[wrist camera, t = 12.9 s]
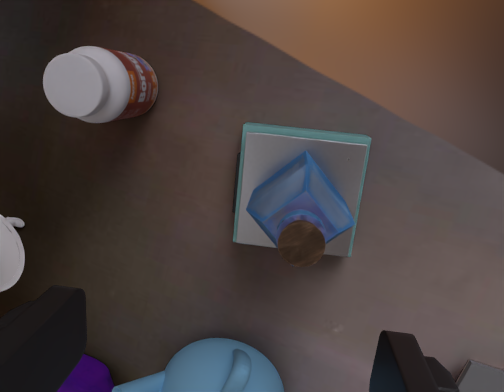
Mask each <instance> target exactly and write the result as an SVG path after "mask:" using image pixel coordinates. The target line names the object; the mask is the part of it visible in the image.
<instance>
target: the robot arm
mask: <svg viewBox="0 0 504 392" xmlns="http://www.w3.org/2000/svg"><path fill="white" fill-rule="evenodd" d="M86 342H87V326H86V297H85V292H84V290H83V289H80V288H72V287H65V286H57V285H54V286H52V287H50V288H49V289H48V290H47V291H46V292H45V293H43V294H42V295H41V296H40V297H39V298H38V299H37V300H35V301H29V302H27V303H25V304H22V305H20V306H18V307H16V308H14V309H12V310H10V311H9V312H7V313H6V314H5V315H4V316H3V317H1V318H0V392H57V391H58V389H59V388H60V387H61V385H62V384H63V383H64V381H65V380H66V379H67V377H68V376H69V375H70V373H71V372H72V371H73V369H74V368H75V367H76V365H77V364H78V363H79V361H80V360H81V358H82V356H83V353H84V350H85V347H86ZM459 391H460V390H459V389H458V387H457V385H456V383H455V381H454V379H453V377H452V375H451V373H450V372H449V371H448V370H446V369H445V368H444V367H443V366H442V365H441V364H440V363H439V362H438V361H437V360H436V359H435V358H433V357H426V356H424V355H423V353H422V351H421V349H420V347H419V345H418V343H417V340H416V338H415V336H414V335H413V334H407V333H400V332H392V331H385V330H383V331H382V332H381V334H380V336H379V341H378V345H377V350H376V355H375V359H374V364H373V369H372V373H371V378H370V387H369V392H459Z"/></svg>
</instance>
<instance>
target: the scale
mask: <svg viewBox="0 0 504 392" xmlns="http://www.w3.org/2000/svg"><path fill="white" fill-rule="evenodd" d="M247 131H249V132H258V133H267V134H277V135H286V136H295V137H304V138H313V139H322V140H331V141H340V142H350V143H359V144H366V145H367V152H366V157H365V163H364V169H363V174H362V180H361V186H360V191H359V197H358V203H357V208H356V214H355V220H354V222H355V225H354V226H353V231H352V237H351V242H350V248H349V254H348V257H351V251H352V246H353V240H354V234H355V229H356V223H357V218H358V212H359V206H360V201H361V195H362V190H363V184H364V178H365V173H366V167H367V162H368V156H369V150H370V145H371V138H370V137H369V136H367V135H362V134H352V133H343V132H334V131H324V130H315V129H306V128H297V127H287V126H278V125H269V124H260V123H250V122H246V123H245V124H244V125H243V132H242V143H241V152H239V153H238V155H237V167H236V178H235V190H234V201H233V212H235V222H234V233H233V242H236V239H237V228H238V218H239V207H240V196H241V185H242V174H243V163H244V152H245V141H246V132H247Z"/></svg>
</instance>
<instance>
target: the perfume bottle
mask: <svg viewBox="0 0 504 392" xmlns="http://www.w3.org/2000/svg"><path fill="white" fill-rule="evenodd" d="M246 211H247V212H248V213H249V214H250V215H251V217H252V218H253V219H254V220H255V222H256V223H257V224H258V225H259V226H260V228H261V229H262V230H263V231H264V232H265V234H266V235H267V236H268V237H269V239H270V240H271V241H272V242H273V243H274V245H275V246H276V247H277V248H278V251H279V253H280V255H281V257H282V258H283V259H284V260H285V261H286V262H287V263H289V264H291V265H292V266H299V267H305V266H310V265H312V264H314V263H316V262H317V261H318V260H319V259H320V258H321V257H322V255H323V254H324V252H325V246H326V244H327V243H329V242H330V241H332V240H333V239H334V238H336V237H337V236H339V235H340V234H342V233H343V232H345V231H346V230H348V229H349V228H351V227H352V226H354V225H355V222H354V220H353V217H352V215H351V213H350V210H349V208H348V206H347V203H346V202H345V200H344V199H343V198H342V196H341V195H340V194H339V192H338V191H337V190H336V189H335V187H334V186H333V185H332V183H331V182H330V181H329V179H328V178H327V177H326V176H325V174H324V173H323V172H322V170H321V169H320V168H319V167H318V165H317V164H316V163H315V161H314V160H313V159H312V157H311V156H310V155H309V154H308V152H307V151H306V150H305V151H304V152H303V153H301V154H300V155H299V156H297V157H296V158H295V159H293V160H292V161H291V162H290V163H288V164H287V165H286V166H284V167H283V168H282V169H280V170H279V171H278V172H276V173H275V174H274V175H272V176H271V177H270V178H268V179H267V180H266V181H264V182H263V183H262V184H260V185H259V186H258V187H257V188H255V189H254V190H253V192H252V194H251V197H250V200H249V202H248V205H247V208H246Z"/></svg>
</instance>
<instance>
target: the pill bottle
mask: <svg viewBox="0 0 504 392" xmlns="http://www.w3.org/2000/svg"><path fill="white" fill-rule="evenodd" d="M43 87H44V91H45V94H46V97H47V99H48V100H49V102H50V103H51V105H52V106H53V107H54V108H55V109H56V110H57V111H59V112H60V113H62V114H64V115H66V116H70V117H77V118H79V119H81V120H83V121H86V122H90V123H105V122H110V121H116V120H121V119H126V118H132V117H136V116H139V115H142V114H144V113H145V112H147V111H148V110H149V109H150V108H151V107H152V105H153V104H154V102H155V100H156V97H157V93H158V81H157V77H156V75H155V72H154V70H153V69H152V67H151V66H150V65H149V64H148V63H147V62H146V61H145V60H144V59H142V58H141V57H139V56H137V55H134V54H131V53H126V52H121V51H116V50H111V49H105V48H101V47H95V46H83V47H79V48H76V49H74V50H72V51H70V52H69V53H65V54H61V55H59V56H57V57H55V58H54V59H52V60H51V61H50V63H49V64H48V65H47V67H46V69H45V72H44V76H43Z"/></svg>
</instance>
